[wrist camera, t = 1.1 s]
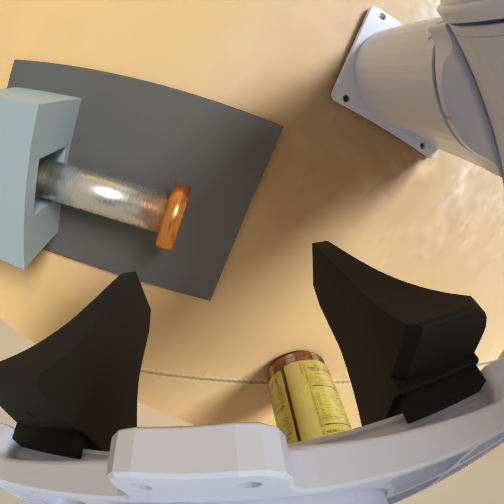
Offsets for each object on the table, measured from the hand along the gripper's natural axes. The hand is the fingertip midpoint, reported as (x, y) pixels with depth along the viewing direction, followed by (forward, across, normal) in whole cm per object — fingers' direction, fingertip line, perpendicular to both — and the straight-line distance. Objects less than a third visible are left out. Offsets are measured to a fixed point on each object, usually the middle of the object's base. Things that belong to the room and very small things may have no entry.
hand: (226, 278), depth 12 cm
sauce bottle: (+10, -4, +18) cm, 21 cm away
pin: (+9, +7, -3) cm, 12 cm away
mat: (+10, +8, -3) cm, 13 cm away
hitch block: (+9, +13, -6) cm, 17 cm away
